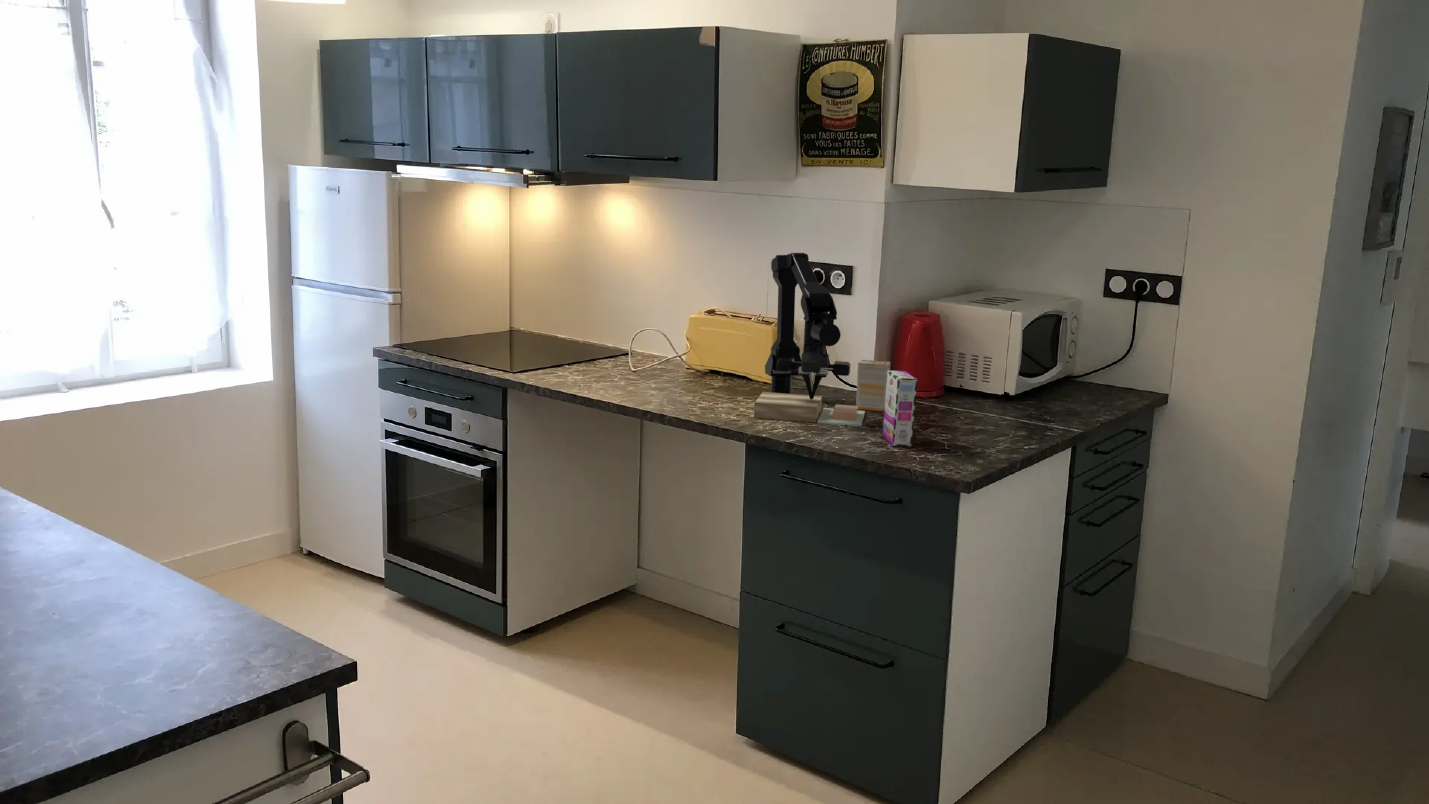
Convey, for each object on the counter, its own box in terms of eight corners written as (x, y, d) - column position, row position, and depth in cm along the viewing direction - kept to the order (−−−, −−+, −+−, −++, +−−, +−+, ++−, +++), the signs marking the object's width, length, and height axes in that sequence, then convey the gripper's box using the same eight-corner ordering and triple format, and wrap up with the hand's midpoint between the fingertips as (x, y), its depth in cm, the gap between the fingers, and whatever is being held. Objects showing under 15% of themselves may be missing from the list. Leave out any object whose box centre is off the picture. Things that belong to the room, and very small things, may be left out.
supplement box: (888, 408, 303) (891, 361, 300) (885, 412, 298) (888, 364, 296) (858, 405, 305) (861, 358, 303) (854, 409, 301) (857, 361, 298)
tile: (858, 406, 293) (857, 413, 293) (835, 404, 294) (835, 411, 294) (856, 413, 284) (855, 421, 284) (832, 411, 285) (832, 419, 286)
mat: (823, 410, 298) (823, 408, 298) (864, 413, 296) (864, 411, 296) (817, 423, 283) (817, 421, 283) (860, 426, 281) (861, 424, 281)
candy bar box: (913, 447, 263) (918, 378, 259) (892, 446, 262) (897, 378, 259) (901, 435, 273) (906, 369, 270) (881, 435, 273) (886, 369, 270)
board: (762, 406, 300) (762, 391, 300) (821, 410, 297) (822, 396, 297) (754, 417, 287) (754, 402, 286) (815, 422, 284) (816, 407, 283)
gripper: (774, 342, 281) (771, 402, 284) (848, 347, 277) (845, 408, 281) (780, 335, 291) (777, 394, 295) (852, 340, 288) (848, 399, 291)
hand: (811, 399), depth 290 cm, fingers closed
